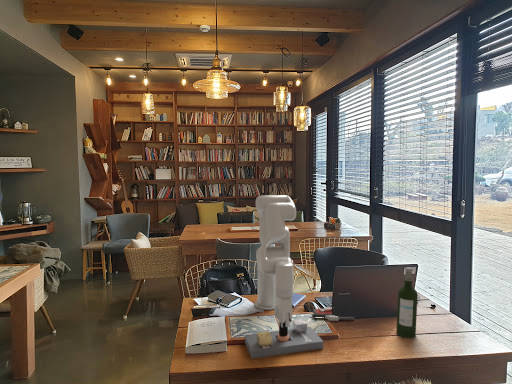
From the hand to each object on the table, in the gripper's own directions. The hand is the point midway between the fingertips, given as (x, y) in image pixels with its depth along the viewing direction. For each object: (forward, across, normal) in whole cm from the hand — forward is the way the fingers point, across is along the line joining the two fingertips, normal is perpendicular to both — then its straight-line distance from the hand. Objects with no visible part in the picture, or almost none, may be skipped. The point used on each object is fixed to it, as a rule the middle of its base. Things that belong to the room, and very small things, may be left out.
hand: (283, 335), depth 143 cm
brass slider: (+1, +2, -9) cm, 9 cm away
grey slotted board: (+4, 0, 0) cm, 4 cm away
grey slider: (+1, -4, +9) cm, 10 cm away
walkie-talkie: (+5, -19, +32) cm, 38 cm away
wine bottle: (+4, +5, +56) cm, 56 cm away
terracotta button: (+3, 0, 0) cm, 3 cm away
